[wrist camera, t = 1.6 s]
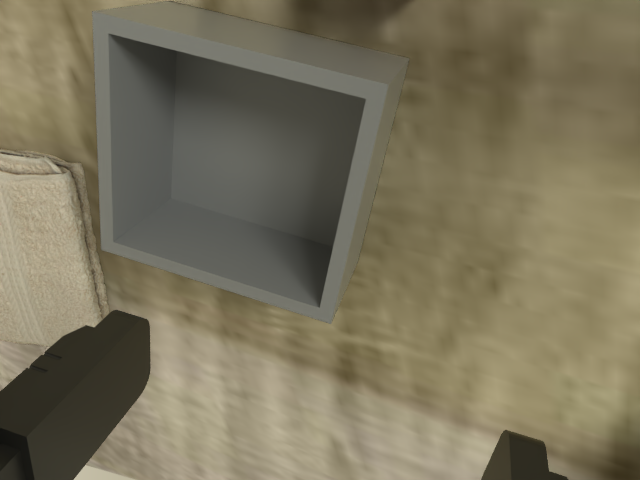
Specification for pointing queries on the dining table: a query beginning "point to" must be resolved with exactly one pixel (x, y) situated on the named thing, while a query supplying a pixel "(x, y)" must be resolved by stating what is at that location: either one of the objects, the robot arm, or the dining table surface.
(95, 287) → the washcloth
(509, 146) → the dining table surface
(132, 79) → the bin
